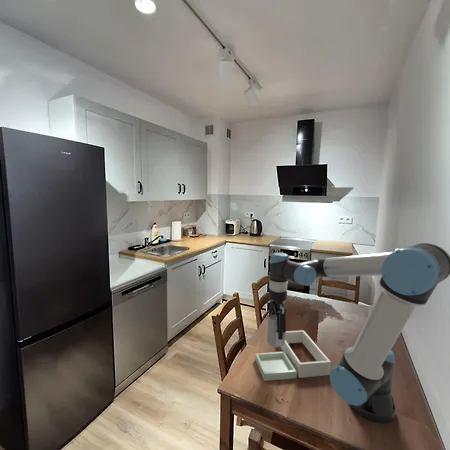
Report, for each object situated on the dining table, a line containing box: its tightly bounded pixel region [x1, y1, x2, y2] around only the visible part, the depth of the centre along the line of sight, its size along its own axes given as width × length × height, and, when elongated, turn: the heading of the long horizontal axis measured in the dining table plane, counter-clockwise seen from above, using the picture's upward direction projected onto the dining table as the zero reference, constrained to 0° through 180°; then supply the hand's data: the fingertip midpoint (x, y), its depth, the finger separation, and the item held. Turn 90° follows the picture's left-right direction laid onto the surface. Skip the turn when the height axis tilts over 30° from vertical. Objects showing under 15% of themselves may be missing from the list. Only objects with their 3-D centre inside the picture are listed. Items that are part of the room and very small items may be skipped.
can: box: [266, 315, 285, 348], centre depth 112 cm, size 8×8×12 cm
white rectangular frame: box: [279, 330, 332, 378], centre depth 122 cm, size 26×14×6 cm, turn 8°
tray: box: [254, 351, 298, 382], centre depth 114 cm, size 14×14×3 cm
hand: (275, 339), depth 113 cm, fingers closed on can, 7 cm apart
